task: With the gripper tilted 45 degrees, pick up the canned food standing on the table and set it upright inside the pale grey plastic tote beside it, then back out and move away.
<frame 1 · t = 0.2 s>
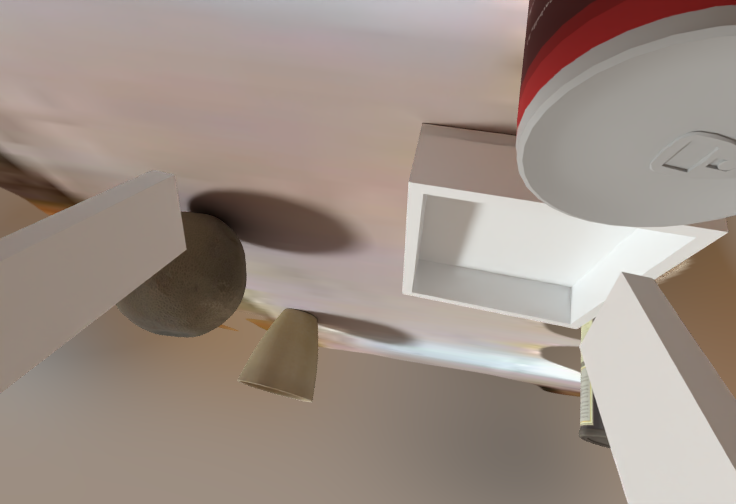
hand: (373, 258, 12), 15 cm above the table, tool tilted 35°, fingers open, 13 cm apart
tote: (516, 221, 34), on the table
coffee can: (627, 321, 47), on the table
plant pot: (300, 313, 82), on the table
cantaloupe: (212, 215, 48), on the table
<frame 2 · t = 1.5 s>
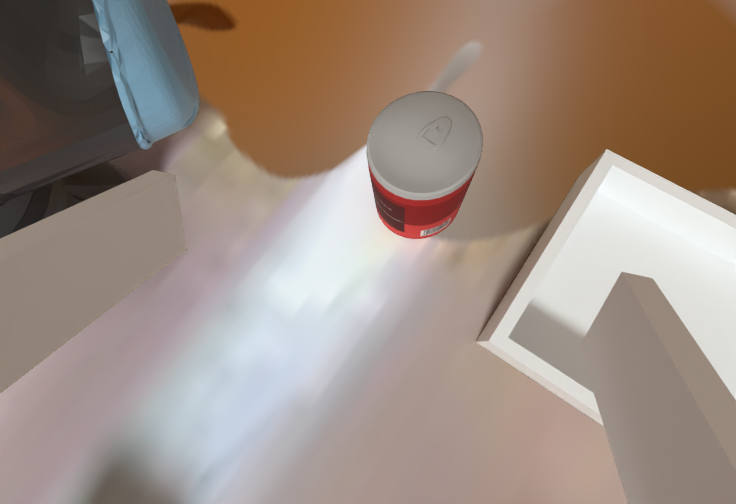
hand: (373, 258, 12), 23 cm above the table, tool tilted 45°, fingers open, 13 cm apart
tote: (638, 320, 32), on the table
canned food: (417, 202, 37), on the table
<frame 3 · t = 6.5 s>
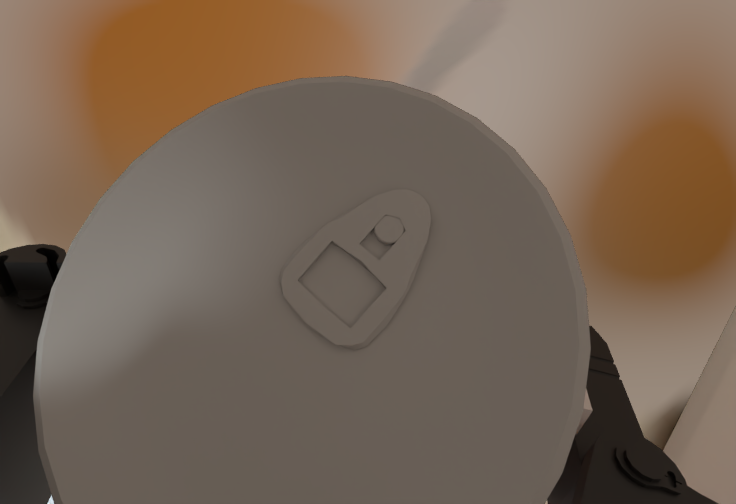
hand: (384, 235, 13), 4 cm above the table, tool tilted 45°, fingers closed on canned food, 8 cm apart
canned food: (368, 340, 16), on the table, touching gripper
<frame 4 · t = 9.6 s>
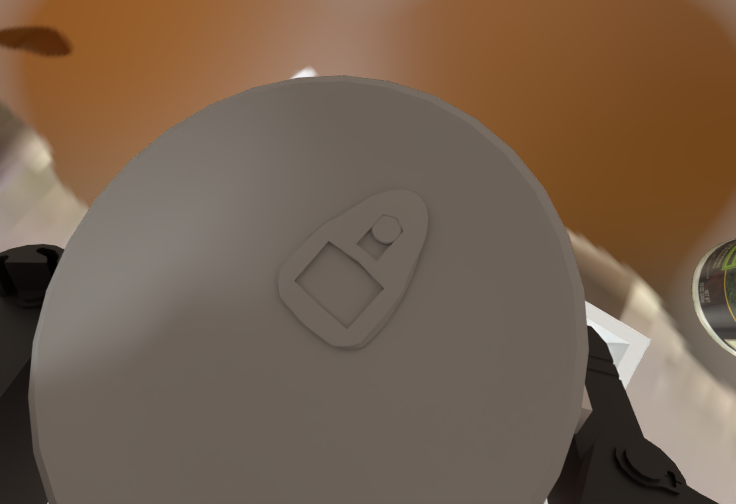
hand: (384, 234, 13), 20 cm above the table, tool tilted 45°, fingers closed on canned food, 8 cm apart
tote: (441, 364, 31), on the table
canned food: (367, 340, 16), point 16 cm above the table, touching gripper
when the fingers open (6 cm above the table, at t = 13.2 s): canned food drops 1 cm, resting on tote.
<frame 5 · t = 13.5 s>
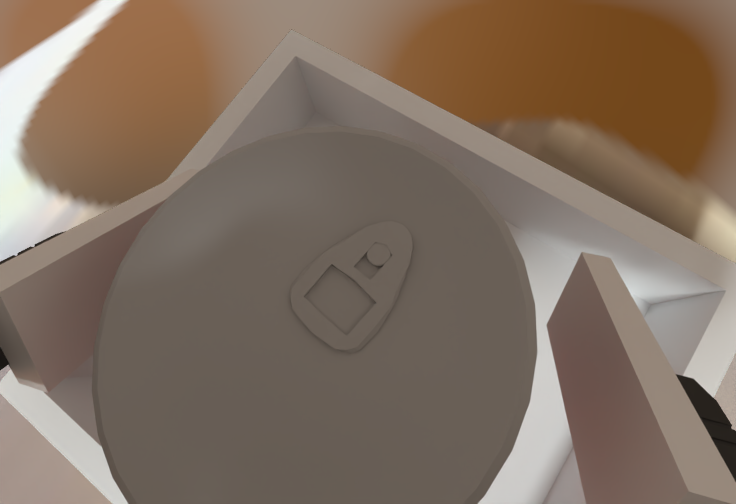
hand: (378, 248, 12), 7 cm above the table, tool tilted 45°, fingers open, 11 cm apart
tote: (372, 341, 18), on the table
canned food: (368, 342, 17), point 1 cm above the table, touching tote
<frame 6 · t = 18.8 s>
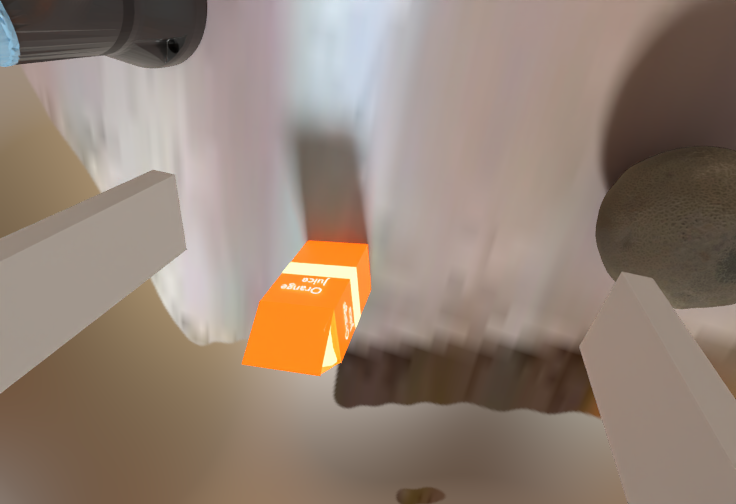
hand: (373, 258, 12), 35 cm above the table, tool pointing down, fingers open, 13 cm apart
orange juice: (340, 264, 56), on the table
cantaloupe: (649, 195, 41), on the table
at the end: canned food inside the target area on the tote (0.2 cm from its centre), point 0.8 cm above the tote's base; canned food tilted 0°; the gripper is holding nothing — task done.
